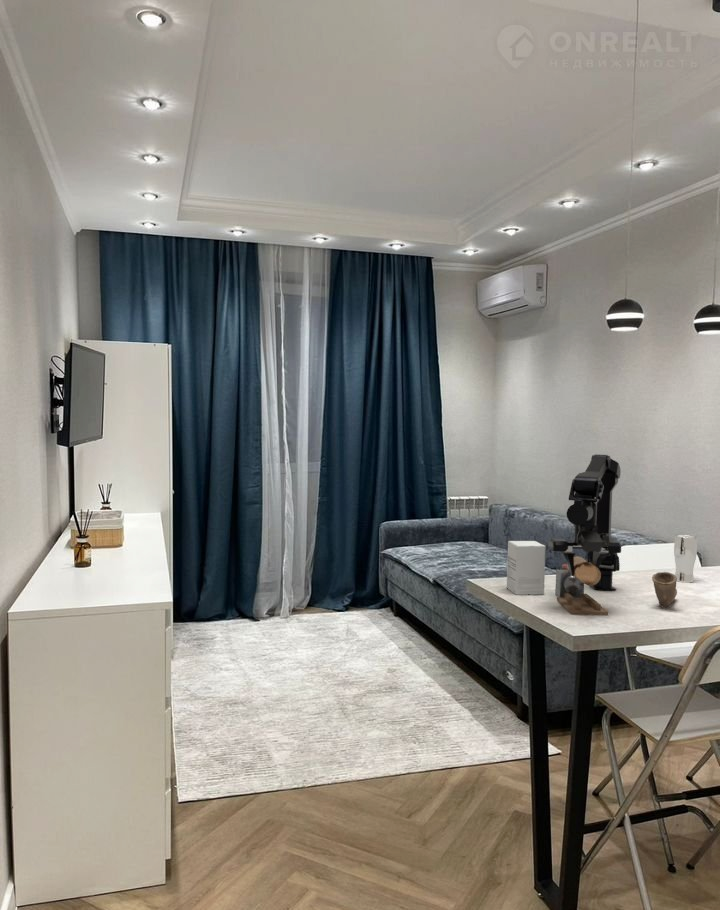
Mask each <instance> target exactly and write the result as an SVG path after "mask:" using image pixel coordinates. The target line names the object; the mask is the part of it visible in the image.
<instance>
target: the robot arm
mask: <svg viewBox="0 0 720 910" xmlns="http://www.w3.org/2000/svg"><path fill="white" fill-rule="evenodd" d="M621 472H622V471H621V467H620V463H619V462H618V461H617V460H614V459H612V458H611V456H610V455H608V454H597V453H596V454H593V455H592V456H591V460H590V461H589V464H588V466H587V467H586V469H585V471H583V472H579V473H577V474H576V475H575V476H574V478H573V479H572V480H571V485H570V491H569V495H568V501H573V504H572V505H570V506H569V507H568V508H567V510H566V518H567V520H568V521H569V522H570V523H571V524H572V525H573V527H574V532H573V535H574V536H573V537H572V541H567V540H566V539H564V538H561V537H560V538H555V537H554V538H550V539H549V541H548V549H550V550H552V551H553V552H558V553H559V552H560V553H561V554H563V556H564V559H565V561H566V564H568V567H569V570H570V573H571V575H572V576H574V557H575V552H574V551H573V549H575V550H576V549H577V550H578V549H579V550H583V551H584V552H586V553H587V561H588V562H589V563H591V564H592V565H594V566H596V567H597V568H598V569H599V570H600V573H601V578H600V580H599V582H598V583H597V584H595V585H593V586H590V587H591V588H592V589H594V590H596V591H616V590H617V588H615V587H614V586H613V572H618V571H620V568H621V567H620V566H621V564H620V556H618V554H620V553H622V545H621V543H620V542H619V541H617V540H615V539H612V537H611V536H612V535H611V534H612V533H611V532H612V505H613V491H614V489H615V488H616V486H617V485H618V484H619V483H618V482H619V479H620V478H621Z"/></svg>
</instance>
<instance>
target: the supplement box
mask: <svg viewBox="0 0 720 910" xmlns="http://www.w3.org/2000/svg"><path fill="white" fill-rule="evenodd" d="M506 563H507V565H506V567H507V568H506V588H508V589H507V590H509V591H510V592H512V593H513V594H514V595H516V596H523V595H524V596H527V595H528V594H530V595H529V596H531V595H532V596H533V595H534V596H535V595H545V577H546V575H545V573H546V569H545V567H546V545H545V544H542V543H540V542H538V541H536V540H507V562H506Z"/></svg>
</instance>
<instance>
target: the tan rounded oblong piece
mask: <svg viewBox="0 0 720 910" xmlns="http://www.w3.org/2000/svg"><path fill="white" fill-rule="evenodd" d="M566 564H567V563H566ZM567 568H568V571H569V572H570V570H569V567H568V564H567ZM574 576H575V577H576V578H577V579H579V580H580V581H581V582H583V583H584V586H590V587H591V586H593V585H595V584H597V583H598V582H599V580H600V578H601V573H600V570H599V569H598V568H597V567H596V566H594V565H592V564H591V563H589V562H588V560H586V559H585V558H583V557H581V556H577V555H576V556H574Z"/></svg>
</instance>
